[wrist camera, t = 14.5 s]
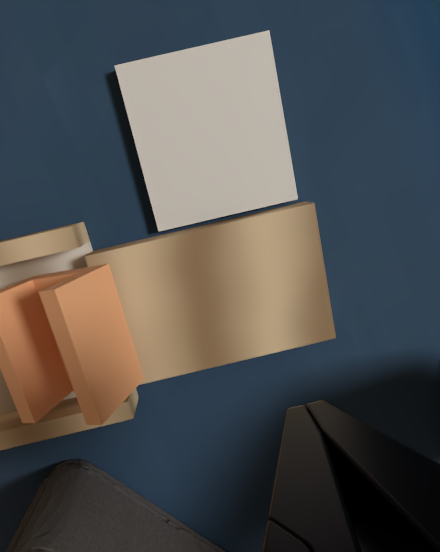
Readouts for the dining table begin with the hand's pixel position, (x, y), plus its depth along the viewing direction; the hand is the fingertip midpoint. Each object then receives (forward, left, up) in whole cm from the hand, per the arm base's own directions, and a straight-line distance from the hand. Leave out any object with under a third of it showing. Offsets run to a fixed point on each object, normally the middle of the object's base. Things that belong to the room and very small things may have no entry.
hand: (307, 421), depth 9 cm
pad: (0, -7, -12) cm, 14 cm away
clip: (+8, 0, -11) cm, 14 cm away
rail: (+6, 0, -12) cm, 13 cm away
